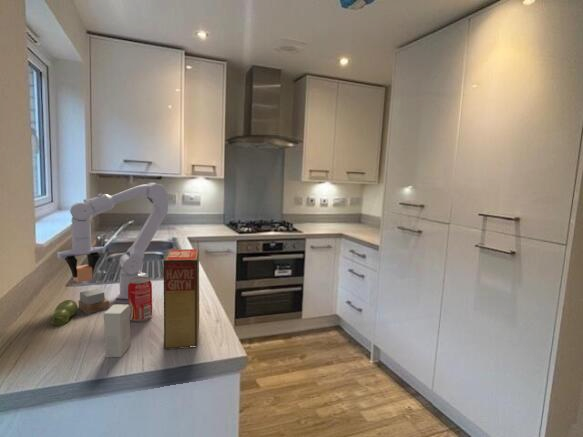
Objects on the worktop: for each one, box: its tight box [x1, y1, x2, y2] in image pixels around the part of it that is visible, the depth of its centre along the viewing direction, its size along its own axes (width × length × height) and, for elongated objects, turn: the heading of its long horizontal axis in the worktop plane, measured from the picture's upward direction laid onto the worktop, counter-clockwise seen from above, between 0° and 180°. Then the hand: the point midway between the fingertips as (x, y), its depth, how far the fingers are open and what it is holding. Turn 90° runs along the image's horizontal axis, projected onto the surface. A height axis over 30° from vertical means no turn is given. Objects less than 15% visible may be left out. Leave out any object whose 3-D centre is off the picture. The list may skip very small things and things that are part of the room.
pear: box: [51, 299, 78, 326], centre depth 108 cm, size 6×5×10 cm
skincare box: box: [103, 304, 131, 358], centre depth 90 cm, size 6×4×12 cm
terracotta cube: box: [72, 264, 93, 283], centre depth 121 cm, size 4×4×4 cm
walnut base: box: [78, 297, 110, 315], centre depth 118 cm, size 7×7×3 cm
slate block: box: [79, 288, 106, 305], centre depth 117 cm, size 6×6×3 cm
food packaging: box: [162, 248, 200, 350], centre depth 99 cm, size 13×9×25 cm
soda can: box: [127, 276, 153, 323], centre depth 111 cm, size 7×7×13 cm
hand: (83, 275), depth 121 cm, fingers closed on terracotta cube, 4 cm apart
